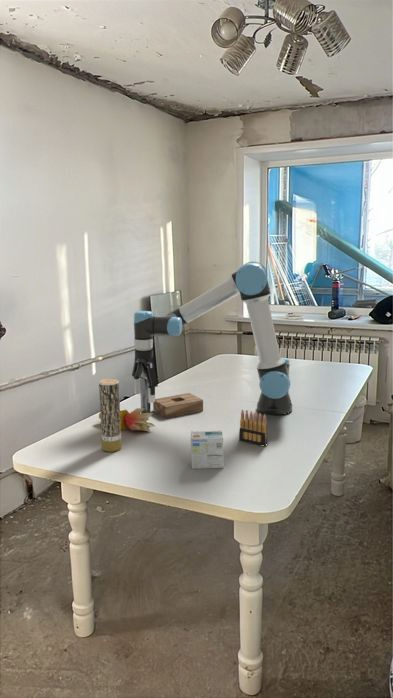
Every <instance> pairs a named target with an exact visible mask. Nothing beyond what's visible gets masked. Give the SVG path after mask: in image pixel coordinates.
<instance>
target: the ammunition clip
mask: <svg viewBox="0 0 393 698" xmlns="http://www.w3.org/2000/svg"><path fill="white" fill-rule="evenodd" d="M266 415H267V414H264V413H263V416H262V413H261V412H259V414H257V412H256V411H255V412H254V414H253V412H252V411H250V412H248V410H245V412H244V409H242V410H241V413H240V423H239V430H238V431H239V434H238V435H239V436H238V441H239V442H242V443H248V444H251V445H255V444H256V446H260V445H264V446H265V447H267V446H266V444H267V445H268V430H267V429H268V427H267V426H268V425H267V416H266ZM264 446H263V447H264Z"/></svg>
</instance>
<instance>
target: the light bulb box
mask: <svg viewBox="0 0 393 698" xmlns="http://www.w3.org/2000/svg"><path fill="white" fill-rule="evenodd" d="M190 458H191V459H190V460H191V461H190V462H191V469H192V470H193V469H194V470H195V469H196V470H197V469H198V470H200V469H202V470H203V469H224V461H225V460H224V436H223V431H222V430H209V431H206V430H203V431H201V430H200V431H199V430H198V431H190Z"/></svg>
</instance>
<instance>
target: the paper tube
mask: <svg viewBox="0 0 393 698" xmlns="http://www.w3.org/2000/svg"><path fill="white" fill-rule="evenodd" d="M119 384H120V381H119V379H116V378H104V379H100V380H99V381H98V391H99V393H98V394H99V411H100V414H101V419H100V430H101V433H100V435H101V448H102V450H103V451H104V452H108V453H111V452H112V453H113V452H117V451H120V450H121V448H122V429H121V423H120V411H121V403H120V401H121V400H120V385H119Z"/></svg>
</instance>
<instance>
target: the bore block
mask: <svg viewBox="0 0 393 698" xmlns="http://www.w3.org/2000/svg"><path fill="white" fill-rule="evenodd" d="M152 407H153V411H154V412H155V413H157V414H158V415H160V416H162V417H163V418H165V419H170V418H175V417H180V416H183V415H189V414H195V413H199V412H203V411H204V399H202V398H200V397H199V396H196V395H194V394H192V393H190V392H187V393H181V394H175V395H169V396H164V397H159V398H155V402H152Z"/></svg>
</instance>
